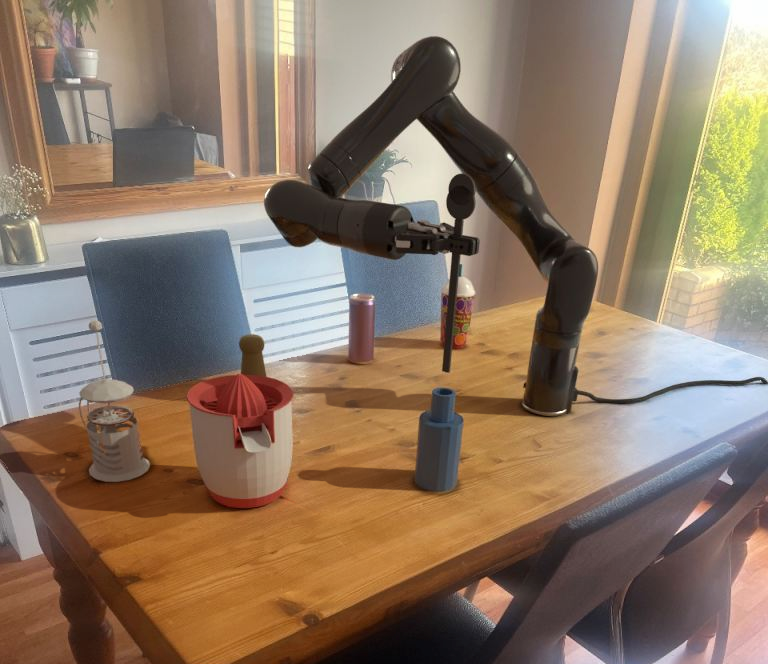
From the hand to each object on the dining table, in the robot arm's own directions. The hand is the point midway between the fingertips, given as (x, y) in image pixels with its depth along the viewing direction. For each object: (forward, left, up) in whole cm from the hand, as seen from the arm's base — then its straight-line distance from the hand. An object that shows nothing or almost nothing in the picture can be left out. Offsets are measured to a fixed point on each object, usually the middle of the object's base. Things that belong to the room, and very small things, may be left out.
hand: (475, 247), depth 99 cm
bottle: (+2, -2, -39) cm, 39 cm away
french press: (+55, -12, -39) cm, 68 cm away
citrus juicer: (+33, -1, -39) cm, 51 cm away
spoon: (+2, -2, -19) cm, 19 cm away
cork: (+32, -47, -39) cm, 69 cm away
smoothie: (-18, -72, -39) cm, 84 cm away
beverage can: (+7, -62, -39) cm, 74 cm away
